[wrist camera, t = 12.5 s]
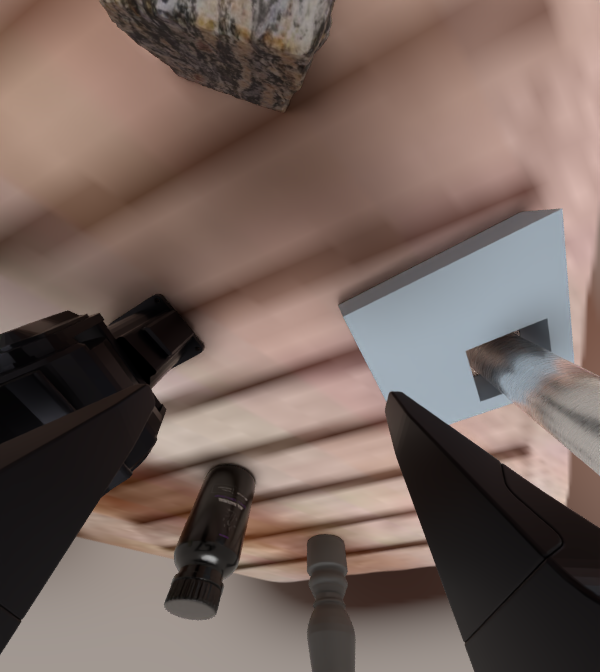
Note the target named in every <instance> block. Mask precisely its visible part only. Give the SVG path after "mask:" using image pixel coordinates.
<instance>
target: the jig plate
mask: <svg viewBox="0 0 600 672" xmlns="http://www.w3.org/2000/svg"><path fill="white" fill-rule="evenodd" d="M338 306H339V308H340V311H341V313H342V315H343V318H344V320H345V322H346V324H347V325H348V327H349V329H350V331H351V333H352V335H353V337H354V339H355V341H356V343H357V345H358V347H359V349H360V351H361V353H362V355H363V357H364V359H365V361H366V363H367V365H368V367H369V369H370V371H371V372H372V374H373V376H374V378H375V380H376V382H377V384H378V386H379V388H380V390H381V392H382V394H383V396H384V398H385V400H386V402H387V399H388V394H389V392H391V391H400V392H403V393H404V394H406V395H407V396H409V397H410V398H411V399H413V400H414V401H416V402H417V403H418V404H420V405H421V406H423V407H424V408H425V409H427V410H428V411H430V412H431V413H432V414H434V415H435V416H437V417H438V418H440V419H441V420H442V421H444V422H445V423H447V424H448V425H449V424H452V423H455V422H458V421H461V420H464V419H467V418H470V417H473V416H476V415H479V414H482V413H485V412H488V411H490V410H493V409H496V408H499V407H502V406H505V405H508V404H511V403H513V402H512V401H511V400H509V399H508V398H507V397H506V396H505V395H503V394H502V393H501V392H500V391H499V390H498V389H496V388H495V387H494V386H493V385H492V384H490V383H489V382H488V381H487V380H486V379H485V378H483V377H482V376H481V375H477V376H475V377H473V375H472V371H471V368H470V365H469V361H468V358H467V355H466V351H467V350H469V349H472V348H474V347H477V346H479V345H482V344H484V343H487V342H489V341H492V340H494V339H496V338H499V337H501V336H504V335H506V334H509V333H511V332H514V331H516V330H519V332H520V337H522V338H524V339H526V340H528V341H530V342H532V343H534V344H536V345H538V346H540V347H542V348H544V349H546V350H548V351H550V352H552V353H554V354H556V355H558V356H560V357H562V358H564V359H566V360H568V361H570V362H572V363H574V353H573V341H572V328H571V315H570V302H569V289H568V276H567V263H566V250H565V238H564V225H563V212H562V209H551V210H538V211H526V212H520V213H518V214H516V215H514V216H512V217H510V218H508V219H506V220H504V221H503V222H501V223H499V224H497V225H495V226H493V227H491V228H489V229H487V230H485V231H483V232H481V233H479V234H477V235H475V236H473V237H471V238H469V239H467V240H465V241H463V242H461V243H459V244H457V245H455V246H453V247H451V248H450V249H448V250H446V251H444V252H442V253H440V254H438V255H436V256H434V257H432V258H430V259H428V260H426V261H424V262H422V263H420V264H418V265H416V266H414V267H412V268H410V269H408V270H406V271H404V272H402V273H400V274H398V275H397V276H395V277H393V278H391V279H389V280H387V281H385V282H383V283H381V284H379V285H377V286H375V287H373V288H371V289H369V290H367V291H365V292H363V293H361V294H359V295H357V296H355V297H353V298H351V299H349V300H347V301H345V302H344V303H342V304H340V305H338Z"/></svg>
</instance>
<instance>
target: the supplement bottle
mask: <svg viewBox="0 0 600 672" xmlns="http://www.w3.org/2000/svg"><path fill="white" fill-rule="evenodd" d="M254 490H255V481H254V479H253V477H252V476H251V474H250V473H249V472H248V471H246V470H245V469H243V468H240V467H238V466H233V465H221V466H218V467H215V468H213V469H212V470H211V471H210V472H209V473H208V474H207V476H206V478H205V480H204V482H203V485H202V487H201V489H200V492H199V494H198V496H197V499H196V501H195V503H194V506H193V508H192V510H191V513H190V515H189V517H188V520H187V522H186V524H185V527H184V529H183V531H182V534H181V536H180V538H179V541H178V543H177V546H176V548H175V552H174V562H175V565H176V567H177V569H178V571H179V573H178V574H176V575H175V576H174V578H173V580H172V583H171V588H170V590H169V593H168V595H167V598H166V600H165V603H164V607H165V608H166V610H167V611H168V612H170V613H171V614H173V615H176V616H178V617H181V618H185V619H191V620H206V619H210V618H212V617H214V616H215V615H216V613H217V610H218V606H219V602H220V597H221V595H222V592H223V588H224V585H223V583H222V581H223V580H224V579H226V578H228V577H229V576H230V575H231V574H232V573H233V572H234V571H235V569H236V568H237V566H238V563H239V559H240V555H241V551H242V546H243V542H244V537H245V532H246V528H247V523H248V518H249V514H250V509H251V505H252V500H253V495H254Z"/></svg>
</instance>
